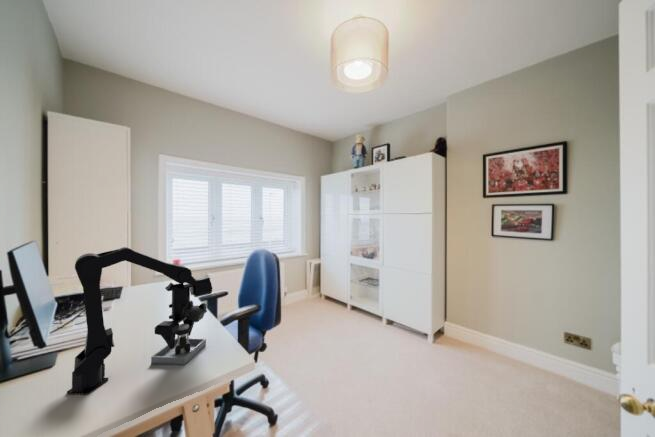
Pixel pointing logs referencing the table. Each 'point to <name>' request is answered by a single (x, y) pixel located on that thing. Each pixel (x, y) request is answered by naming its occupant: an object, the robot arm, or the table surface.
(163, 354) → the tray
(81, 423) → the table surface
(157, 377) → the table surface
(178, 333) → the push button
